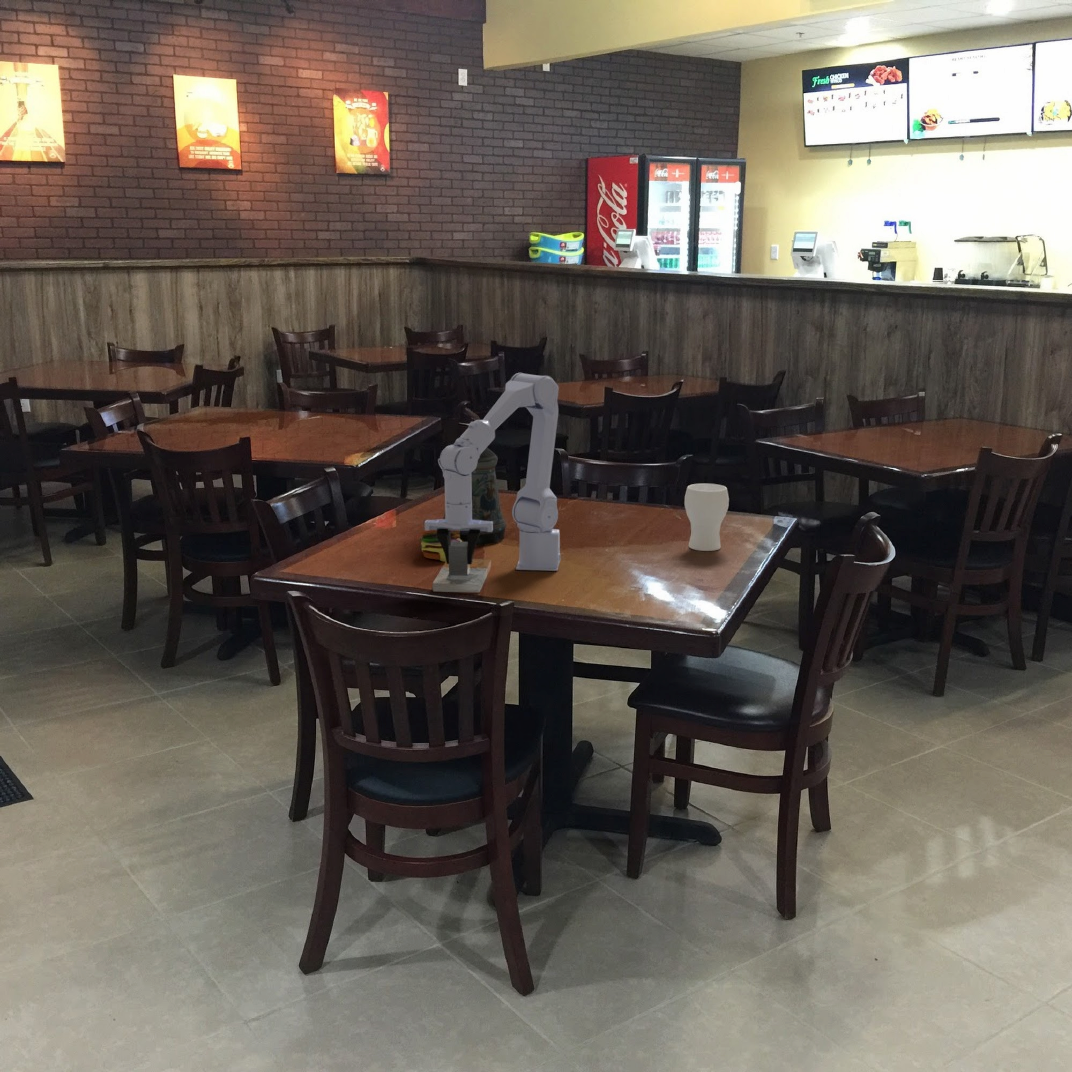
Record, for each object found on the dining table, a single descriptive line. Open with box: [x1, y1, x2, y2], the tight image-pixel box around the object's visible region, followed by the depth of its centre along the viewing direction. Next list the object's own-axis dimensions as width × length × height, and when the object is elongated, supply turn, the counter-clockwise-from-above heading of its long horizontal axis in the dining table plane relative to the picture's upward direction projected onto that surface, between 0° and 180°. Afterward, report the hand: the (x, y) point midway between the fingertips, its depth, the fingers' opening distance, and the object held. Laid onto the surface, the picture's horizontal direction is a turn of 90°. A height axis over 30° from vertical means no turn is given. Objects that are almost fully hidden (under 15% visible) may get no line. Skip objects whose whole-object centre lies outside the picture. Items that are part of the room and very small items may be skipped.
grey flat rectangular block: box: [432, 558, 492, 594], centre depth 250 cm, size 10×20×2 cm, turn 175°
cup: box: [684, 483, 730, 552], centre depth 275 cm, size 11×11×15 cm
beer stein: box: [442, 447, 507, 546], centre depth 284 cm, size 16×19×25 cm
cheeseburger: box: [420, 528, 462, 563], centre depth 268 cm, size 10×11×10 cm
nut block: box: [449, 541, 470, 576], centre depth 244 cm, size 4×4×6 cm
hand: (459, 562), depth 244 cm, fingers closed on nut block, 4 cm apart
